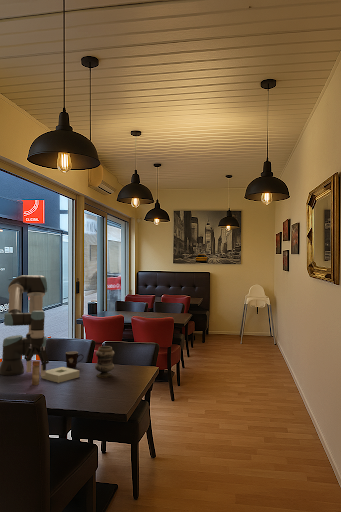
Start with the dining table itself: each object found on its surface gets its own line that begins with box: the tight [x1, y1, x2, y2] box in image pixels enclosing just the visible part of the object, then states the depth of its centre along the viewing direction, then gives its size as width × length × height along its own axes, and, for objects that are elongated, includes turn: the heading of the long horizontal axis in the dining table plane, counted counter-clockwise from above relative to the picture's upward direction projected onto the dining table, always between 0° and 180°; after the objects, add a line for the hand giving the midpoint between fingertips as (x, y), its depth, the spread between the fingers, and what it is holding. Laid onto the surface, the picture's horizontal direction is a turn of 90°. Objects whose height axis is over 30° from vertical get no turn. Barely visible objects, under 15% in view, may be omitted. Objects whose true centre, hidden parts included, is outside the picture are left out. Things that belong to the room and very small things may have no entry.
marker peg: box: [31, 360, 41, 386], centre depth 217 cm, size 4×4×13 cm
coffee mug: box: [65, 351, 85, 369], centre depth 257 cm, size 12×9×10 cm
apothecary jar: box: [94, 345, 115, 379], centre depth 238 cm, size 12×12×18 cm
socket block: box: [41, 366, 80, 384], centre depth 231 cm, size 16×16×4 cm
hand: (35, 374), depth 217 cm, fingers open, 13 cm apart
